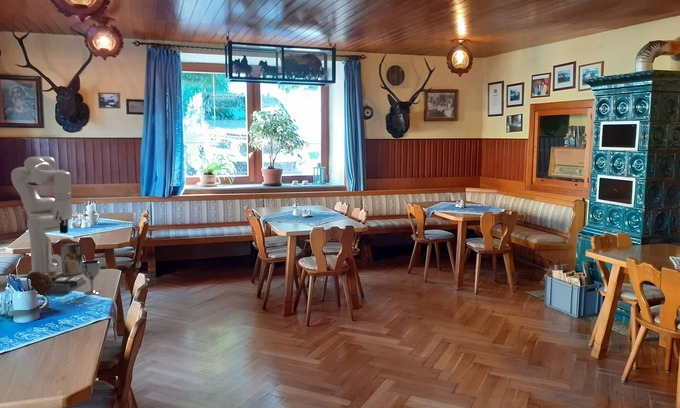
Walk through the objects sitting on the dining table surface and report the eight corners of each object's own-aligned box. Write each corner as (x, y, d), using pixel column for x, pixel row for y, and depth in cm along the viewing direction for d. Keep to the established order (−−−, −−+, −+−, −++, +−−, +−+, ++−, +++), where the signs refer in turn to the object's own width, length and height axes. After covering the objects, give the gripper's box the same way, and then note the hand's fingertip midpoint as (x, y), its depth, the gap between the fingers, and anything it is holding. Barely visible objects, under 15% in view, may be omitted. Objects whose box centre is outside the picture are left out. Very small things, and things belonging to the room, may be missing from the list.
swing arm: (48, 269, 258) (48, 263, 257) (57, 268, 259) (57, 262, 259) (47, 278, 242) (47, 271, 241) (57, 277, 244) (57, 270, 243)
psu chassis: (55, 282, 264) (54, 267, 263) (85, 282, 264) (85, 267, 263) (35, 293, 245) (35, 277, 244) (68, 293, 246) (67, 277, 245)
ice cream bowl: (45, 308, 223) (43, 274, 221) (19, 308, 223) (17, 274, 222) (59, 301, 234) (57, 268, 232) (34, 300, 234) (33, 268, 232)
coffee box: (79, 270, 287) (78, 242, 285) (83, 273, 283) (81, 244, 281) (61, 273, 281) (60, 244, 279) (64, 275, 277) (63, 246, 275)
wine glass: (104, 290, 251) (103, 260, 249) (95, 295, 243) (94, 264, 241) (89, 290, 251) (87, 259, 250) (79, 294, 244) (77, 263, 242)
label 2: (73, 278, 260) (73, 277, 260) (80, 278, 260) (80, 277, 260) (68, 280, 255) (68, 280, 255) (76, 280, 256) (76, 280, 255)
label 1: (61, 278, 260) (61, 277, 260) (68, 278, 260) (68, 277, 260) (56, 280, 255) (56, 280, 255) (63, 280, 255) (63, 280, 255)
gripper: (62, 194, 264) (63, 229, 267) (47, 198, 250) (48, 235, 252) (77, 194, 265) (78, 230, 267) (63, 198, 250) (64, 236, 253)
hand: (63, 232), depth 260 cm, fingers closed
